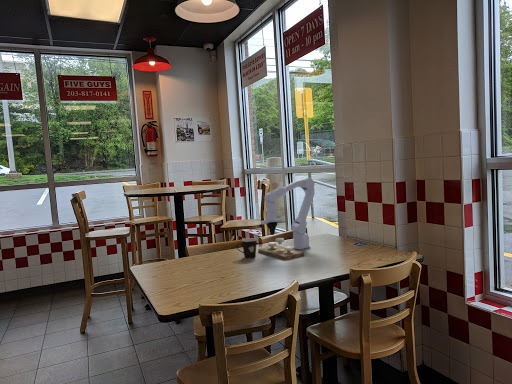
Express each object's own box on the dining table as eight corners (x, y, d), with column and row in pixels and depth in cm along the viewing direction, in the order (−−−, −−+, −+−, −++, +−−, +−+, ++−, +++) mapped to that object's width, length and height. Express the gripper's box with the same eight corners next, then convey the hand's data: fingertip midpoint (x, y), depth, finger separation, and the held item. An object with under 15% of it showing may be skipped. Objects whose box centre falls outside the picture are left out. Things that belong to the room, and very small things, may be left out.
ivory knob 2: (289, 250, 221) (289, 245, 221) (295, 252, 217) (294, 247, 216) (282, 252, 218) (282, 247, 218) (288, 253, 214) (287, 248, 214)
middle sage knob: (280, 242, 227) (280, 237, 227) (286, 243, 223) (285, 238, 223) (274, 243, 224) (273, 238, 224) (279, 245, 220) (279, 240, 220)
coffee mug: (258, 254, 225) (257, 238, 224) (256, 258, 216) (255, 241, 215) (238, 255, 226) (237, 238, 225) (236, 259, 217) (235, 241, 216)
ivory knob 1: (273, 246, 234) (272, 241, 234) (278, 247, 230) (277, 242, 230) (266, 247, 231) (266, 243, 231) (271, 249, 227) (271, 244, 227)
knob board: (276, 248, 239) (276, 245, 239) (304, 255, 217) (303, 251, 217) (258, 252, 231) (258, 248, 231) (284, 260, 209) (284, 256, 209)
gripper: (276, 210, 237) (277, 232, 238) (257, 213, 229) (258, 235, 230) (283, 211, 231) (284, 233, 232) (264, 214, 223) (265, 237, 224)
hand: (272, 234), depth 231 cm, fingers closed
